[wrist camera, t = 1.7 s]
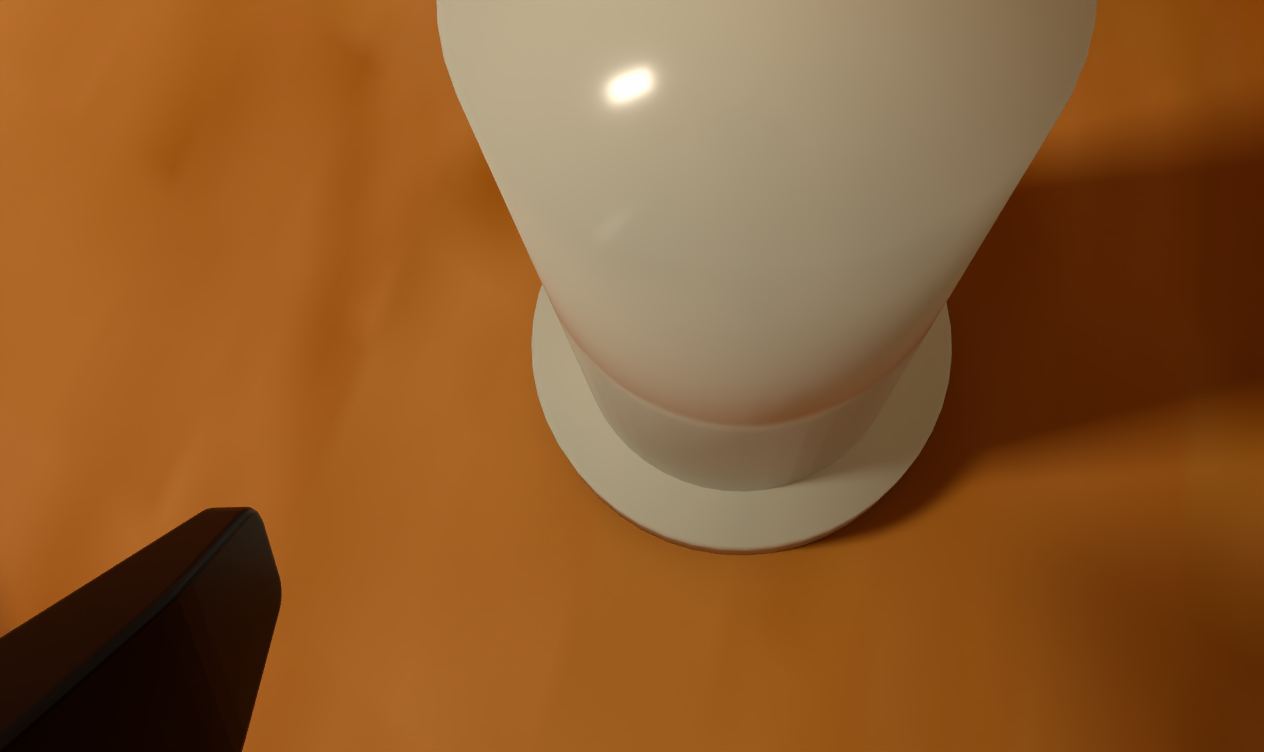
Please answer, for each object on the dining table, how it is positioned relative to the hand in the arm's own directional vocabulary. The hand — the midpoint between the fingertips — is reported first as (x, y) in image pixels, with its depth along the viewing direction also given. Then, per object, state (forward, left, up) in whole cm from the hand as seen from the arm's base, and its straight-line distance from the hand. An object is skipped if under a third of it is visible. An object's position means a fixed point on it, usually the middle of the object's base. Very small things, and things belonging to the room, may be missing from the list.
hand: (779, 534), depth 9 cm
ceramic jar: (+5, -2, -12) cm, 13 cm away
